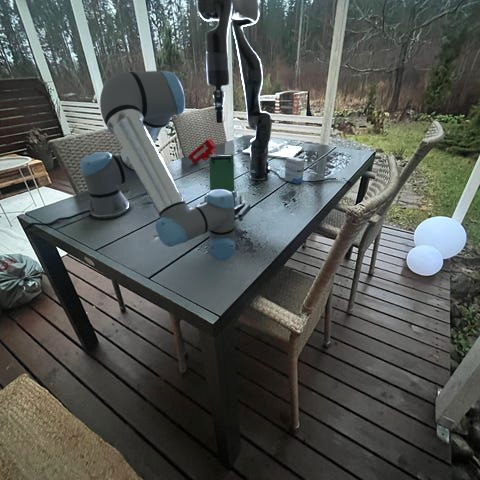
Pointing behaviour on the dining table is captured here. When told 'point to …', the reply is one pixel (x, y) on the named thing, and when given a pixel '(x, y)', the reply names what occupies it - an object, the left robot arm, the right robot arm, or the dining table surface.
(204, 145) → the toy gun
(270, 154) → the relief map
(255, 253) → the dining table surface
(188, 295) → the dining table surface
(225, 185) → the lid
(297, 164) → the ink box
